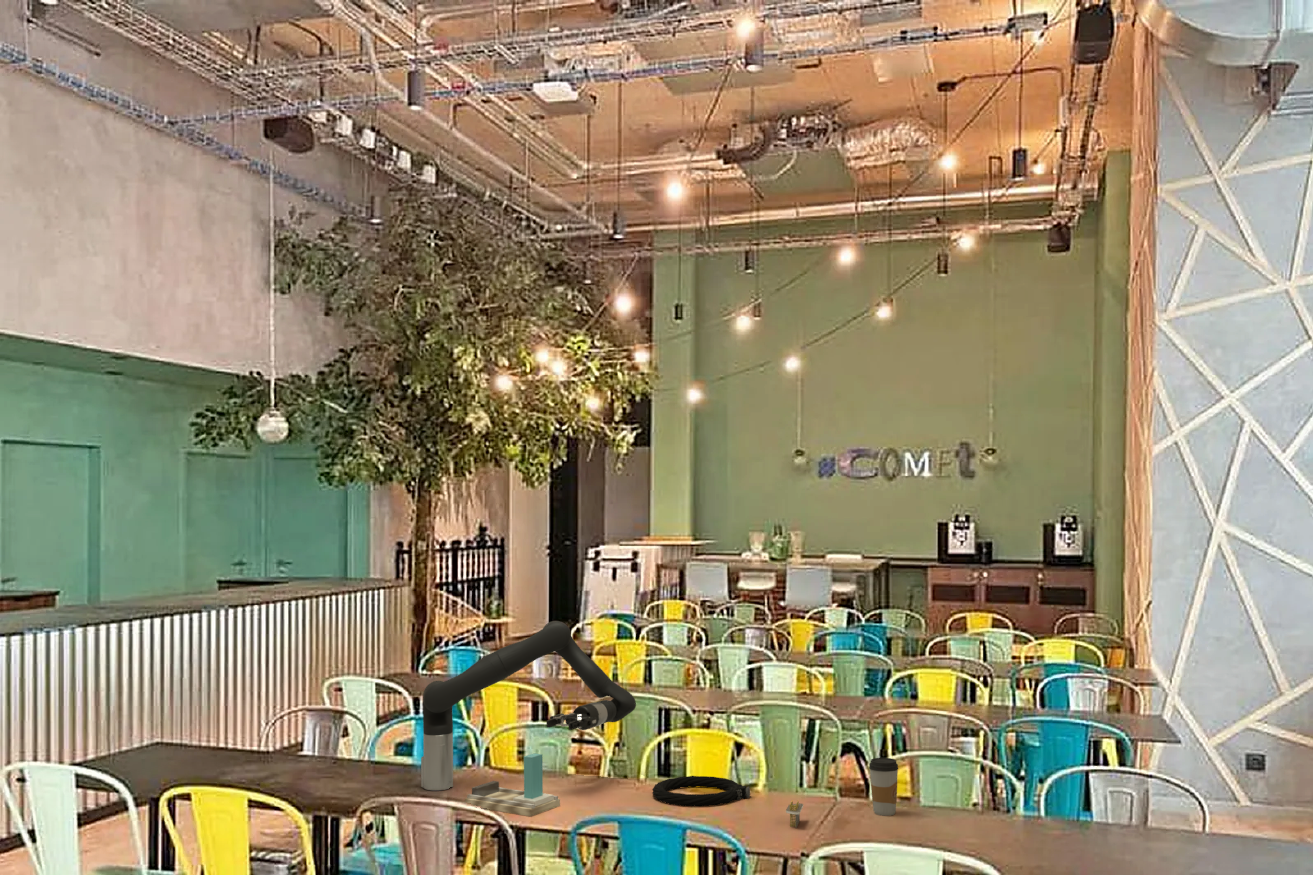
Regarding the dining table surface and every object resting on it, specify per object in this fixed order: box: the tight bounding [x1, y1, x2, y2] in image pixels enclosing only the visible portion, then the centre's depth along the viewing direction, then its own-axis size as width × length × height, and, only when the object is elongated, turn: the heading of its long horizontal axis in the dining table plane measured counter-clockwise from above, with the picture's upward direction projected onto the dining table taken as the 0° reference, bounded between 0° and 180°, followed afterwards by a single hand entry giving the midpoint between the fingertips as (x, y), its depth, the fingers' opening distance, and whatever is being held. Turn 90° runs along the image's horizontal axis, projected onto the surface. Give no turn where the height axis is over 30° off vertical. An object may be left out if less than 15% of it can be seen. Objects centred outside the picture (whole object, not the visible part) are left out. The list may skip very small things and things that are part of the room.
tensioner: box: [513, 753, 555, 806], centre depth 364 cm, size 8×9×14 cm
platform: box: [785, 799, 804, 829], centre depth 344 cm, size 12×18×7 cm, turn 166°
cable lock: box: [651, 775, 751, 807], centre depth 377 cm, size 28×4×30 cm
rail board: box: [464, 780, 561, 817], centre depth 368 cm, size 25×14×5 cm, turn 58°
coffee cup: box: [868, 757, 899, 817], centre depth 355 cm, size 8×8×15 cm
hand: (558, 725), depth 375 cm, fingers open, 8 cm apart
